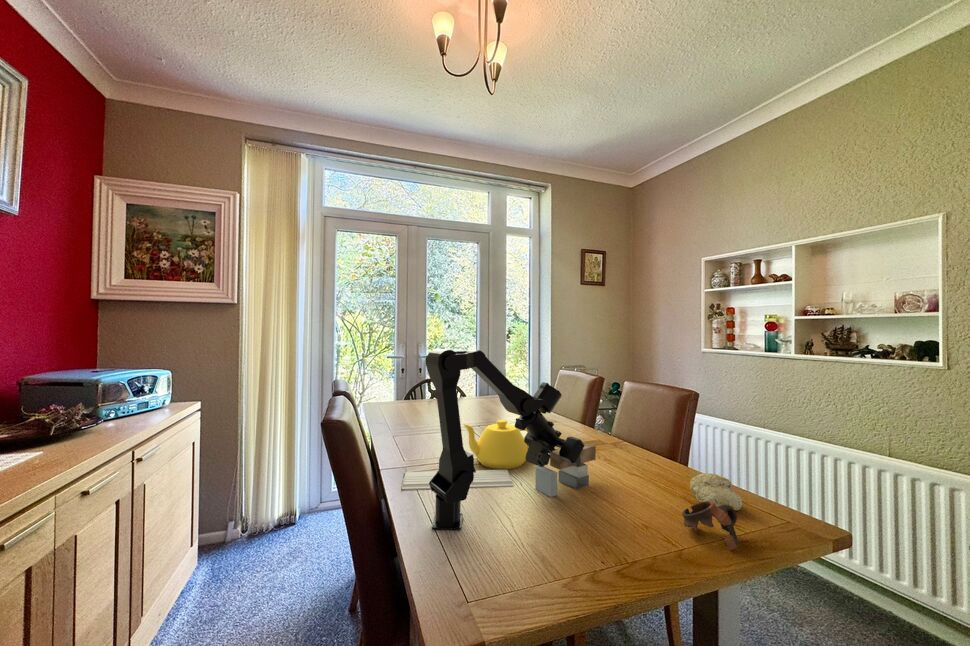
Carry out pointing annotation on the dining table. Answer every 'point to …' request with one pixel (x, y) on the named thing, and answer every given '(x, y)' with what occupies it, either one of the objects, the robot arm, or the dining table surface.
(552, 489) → the light gray rectangular block
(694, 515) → the dark curved fragment
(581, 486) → the grey stepped block
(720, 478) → the decorative item
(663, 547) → the dining table surface
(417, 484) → the baseboard molding
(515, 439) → the teapot
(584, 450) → the batten
